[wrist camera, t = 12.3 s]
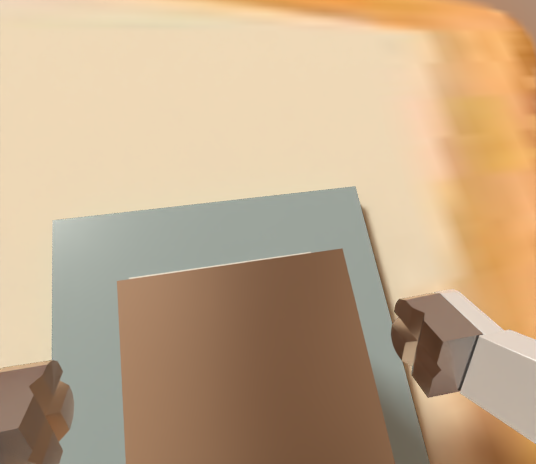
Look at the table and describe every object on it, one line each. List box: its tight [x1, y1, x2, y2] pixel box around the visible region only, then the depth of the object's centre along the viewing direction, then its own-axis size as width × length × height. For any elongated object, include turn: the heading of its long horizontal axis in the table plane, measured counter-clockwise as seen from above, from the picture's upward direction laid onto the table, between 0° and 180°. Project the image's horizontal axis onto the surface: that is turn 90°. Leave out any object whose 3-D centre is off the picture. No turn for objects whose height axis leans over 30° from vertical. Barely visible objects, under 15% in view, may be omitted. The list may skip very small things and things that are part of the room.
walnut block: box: [117, 248, 395, 464], centre depth 10 cm, size 4×4×9 cm
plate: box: [52, 186, 430, 464], centre depth 15 cm, size 14×14×1 cm
